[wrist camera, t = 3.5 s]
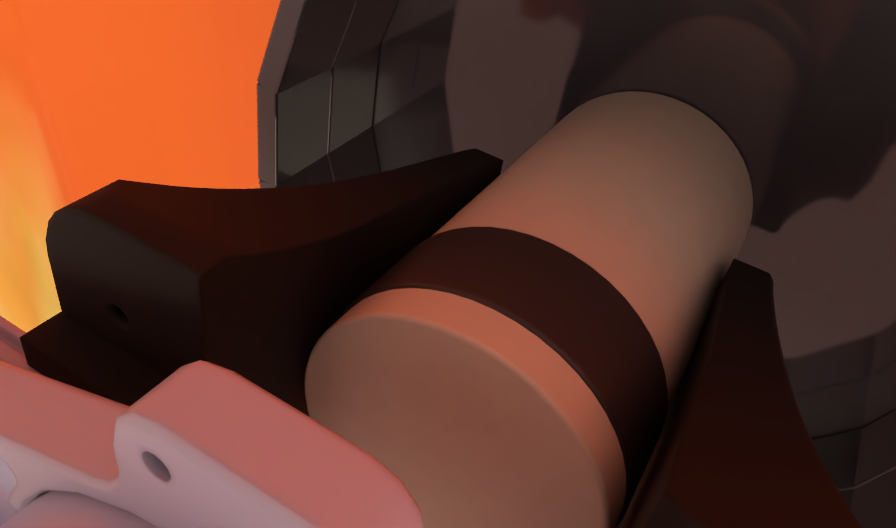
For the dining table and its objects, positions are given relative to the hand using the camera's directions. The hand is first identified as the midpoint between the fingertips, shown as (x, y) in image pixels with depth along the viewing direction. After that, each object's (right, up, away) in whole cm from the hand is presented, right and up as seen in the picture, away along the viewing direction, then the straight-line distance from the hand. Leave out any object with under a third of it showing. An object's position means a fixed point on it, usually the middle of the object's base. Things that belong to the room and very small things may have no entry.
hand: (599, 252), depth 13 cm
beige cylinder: (+1, +1, +2) cm, 2 cm away
